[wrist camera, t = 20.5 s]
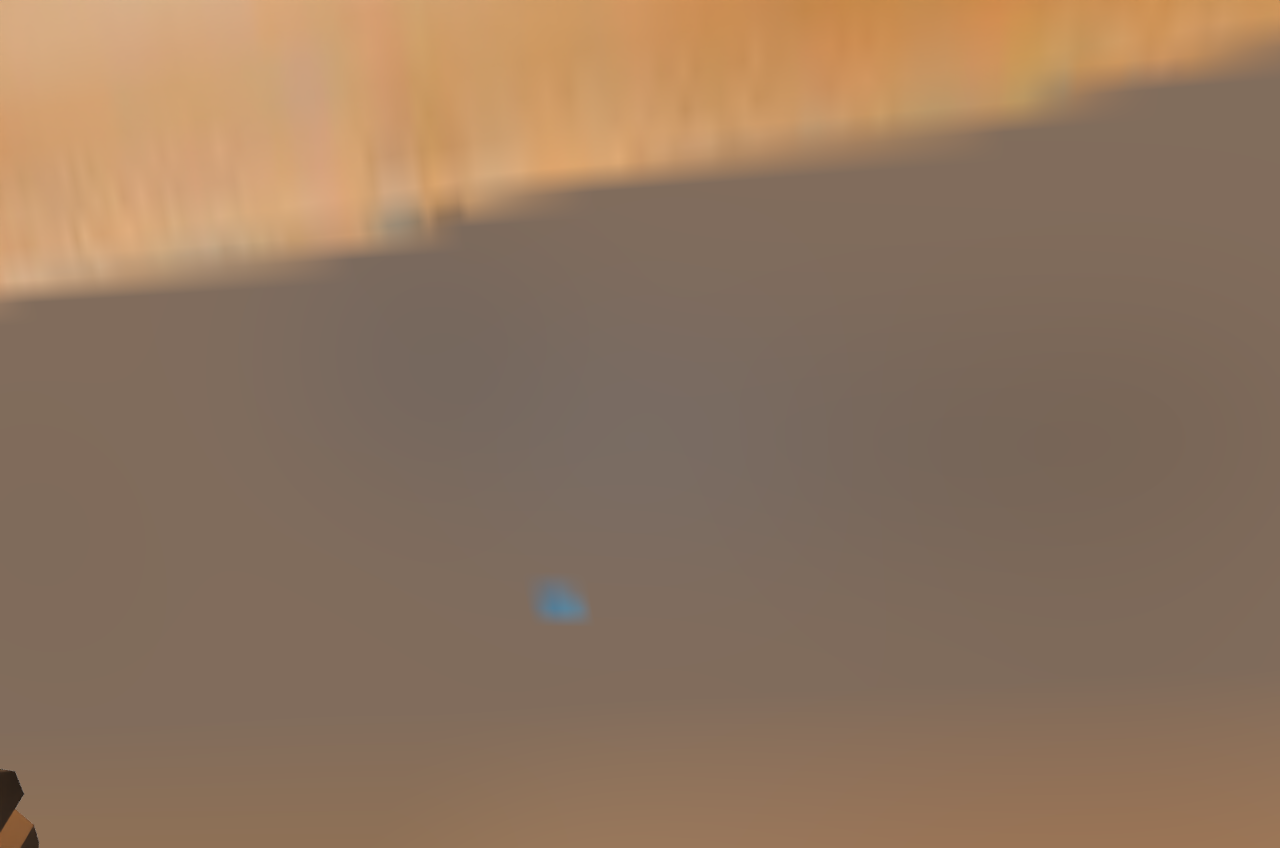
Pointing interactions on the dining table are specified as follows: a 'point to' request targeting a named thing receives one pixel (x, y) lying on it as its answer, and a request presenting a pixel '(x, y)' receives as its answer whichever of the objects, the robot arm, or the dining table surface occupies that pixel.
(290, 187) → the dining table surface
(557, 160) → the dining table surface
